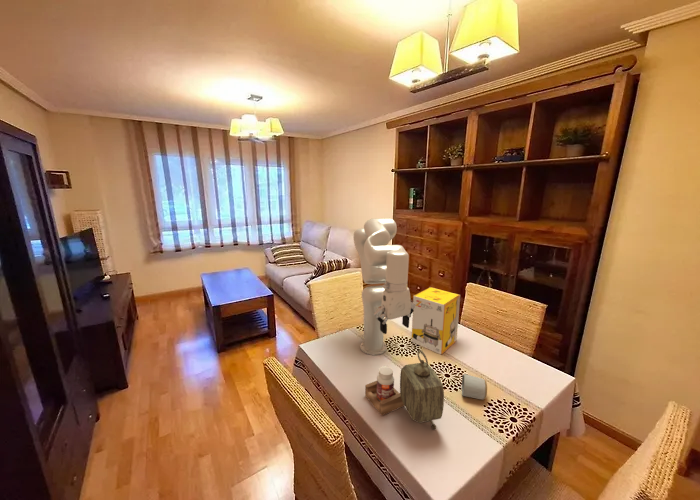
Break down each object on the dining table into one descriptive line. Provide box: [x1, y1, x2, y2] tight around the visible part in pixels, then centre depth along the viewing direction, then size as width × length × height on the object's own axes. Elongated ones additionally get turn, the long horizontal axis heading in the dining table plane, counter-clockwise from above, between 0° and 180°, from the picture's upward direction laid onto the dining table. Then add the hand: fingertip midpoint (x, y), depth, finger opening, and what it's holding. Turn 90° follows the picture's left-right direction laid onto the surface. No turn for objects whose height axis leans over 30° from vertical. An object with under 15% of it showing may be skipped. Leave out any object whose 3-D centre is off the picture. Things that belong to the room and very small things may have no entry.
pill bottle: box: [376, 365, 395, 401], centre depth 103 cm, size 6×6×11 cm
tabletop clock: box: [399, 349, 445, 431], centre depth 93 cm, size 14×9×25 cm, turn 12°
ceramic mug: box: [461, 373, 488, 400], centre depth 107 cm, size 11×8×8 cm
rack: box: [364, 380, 405, 417], centre depth 103 cm, size 11×10×5 cm
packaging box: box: [411, 286, 461, 355], centre depth 140 cm, size 16×16×25 cm
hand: (394, 329), depth 103 cm, fingers open, 9 cm apart
